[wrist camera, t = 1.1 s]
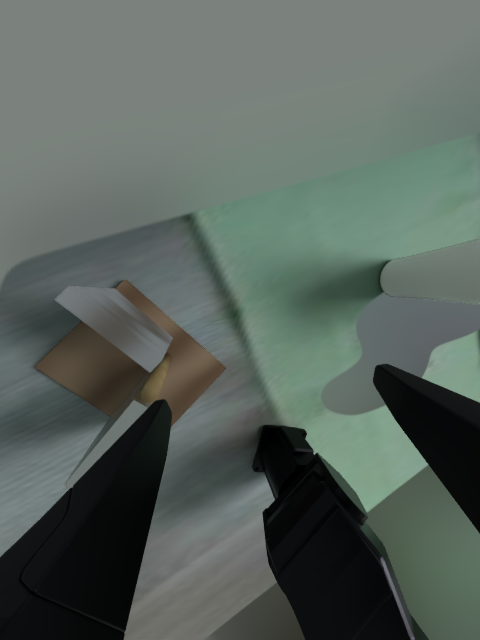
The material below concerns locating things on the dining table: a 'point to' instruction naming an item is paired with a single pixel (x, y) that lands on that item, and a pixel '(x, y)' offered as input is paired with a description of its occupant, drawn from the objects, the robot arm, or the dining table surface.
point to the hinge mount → (127, 351)
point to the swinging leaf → (112, 430)
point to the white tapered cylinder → (436, 274)
